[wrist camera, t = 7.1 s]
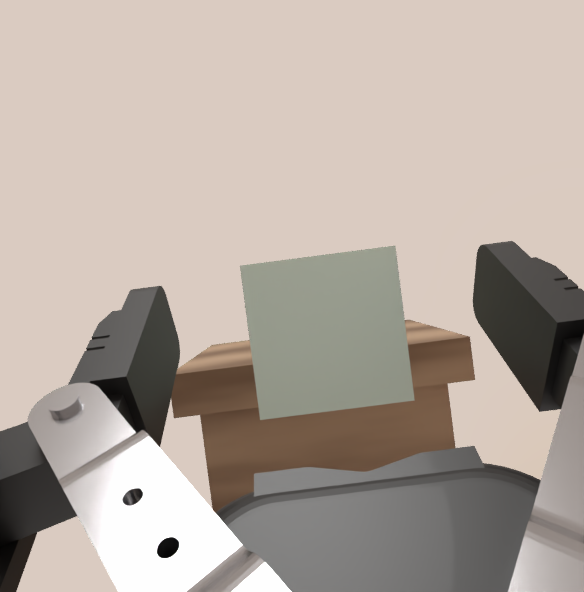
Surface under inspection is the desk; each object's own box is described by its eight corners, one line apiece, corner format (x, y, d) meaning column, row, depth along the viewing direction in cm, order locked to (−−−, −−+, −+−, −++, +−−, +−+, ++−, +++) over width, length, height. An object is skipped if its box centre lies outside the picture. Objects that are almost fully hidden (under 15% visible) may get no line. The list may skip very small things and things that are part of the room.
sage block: (414, 400, 13) (395, 245, 13) (260, 420, 13) (240, 265, 13) (334, 324, 39) (327, 274, 39) (283, 331, 39) (277, 280, 39)
